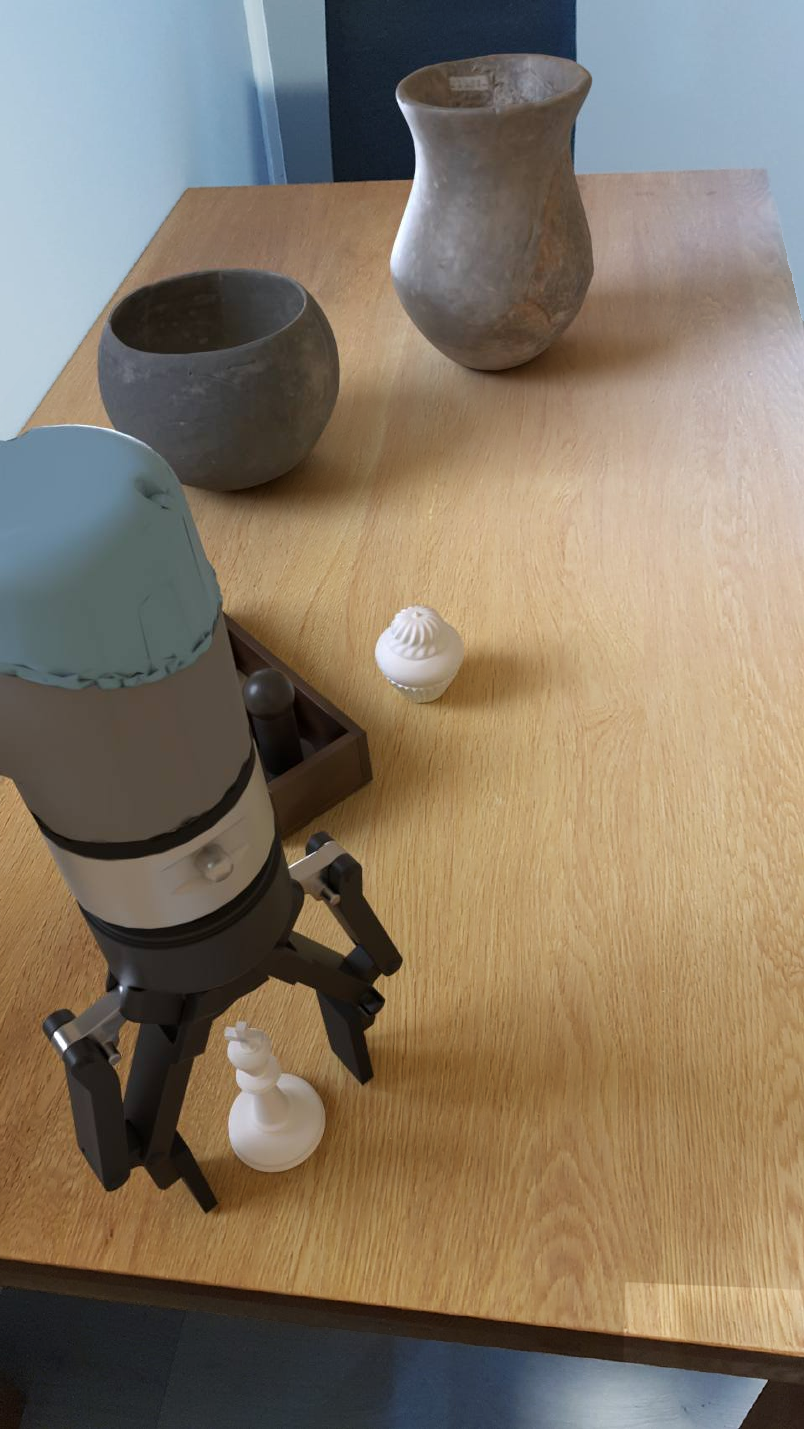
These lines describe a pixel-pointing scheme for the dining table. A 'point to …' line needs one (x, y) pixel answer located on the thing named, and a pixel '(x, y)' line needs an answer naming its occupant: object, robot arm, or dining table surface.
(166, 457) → the bowl
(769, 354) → the dining table surface
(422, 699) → the muffin
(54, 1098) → the dining table surface
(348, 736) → the rack
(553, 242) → the vase
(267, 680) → the ebony piece
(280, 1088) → the chess piece
